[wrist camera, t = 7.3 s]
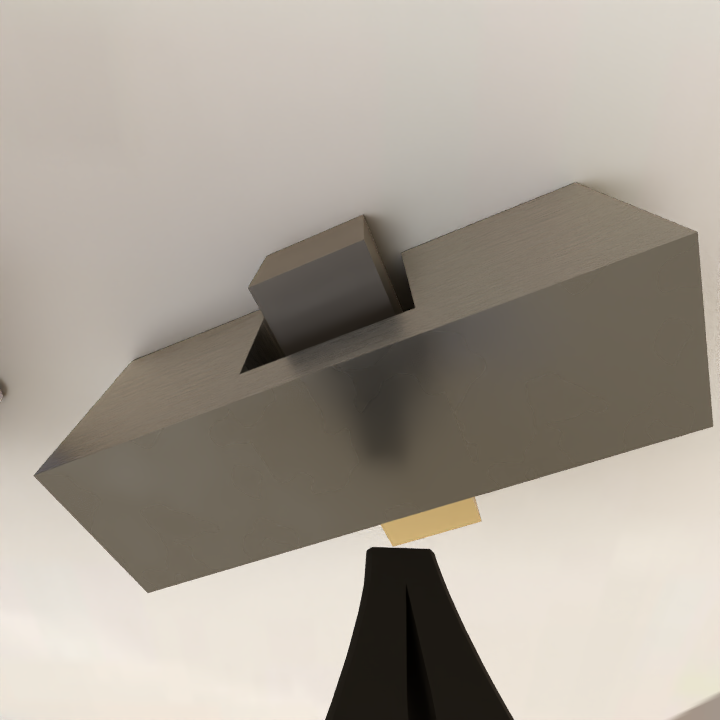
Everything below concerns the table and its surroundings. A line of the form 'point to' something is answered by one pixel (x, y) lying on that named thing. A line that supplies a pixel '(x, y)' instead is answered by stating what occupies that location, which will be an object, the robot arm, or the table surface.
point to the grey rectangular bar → (341, 323)
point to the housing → (400, 395)
